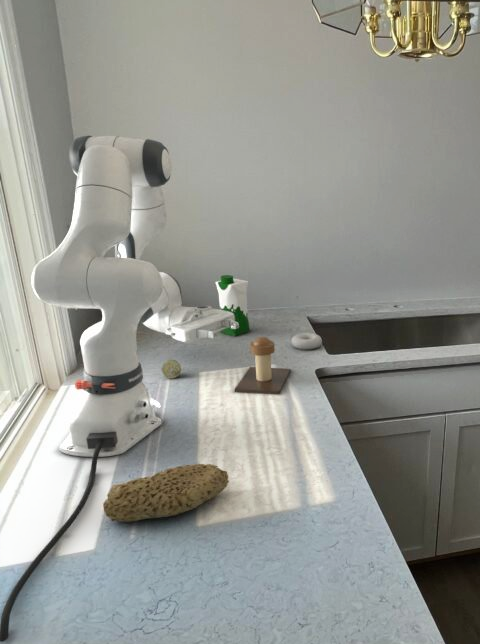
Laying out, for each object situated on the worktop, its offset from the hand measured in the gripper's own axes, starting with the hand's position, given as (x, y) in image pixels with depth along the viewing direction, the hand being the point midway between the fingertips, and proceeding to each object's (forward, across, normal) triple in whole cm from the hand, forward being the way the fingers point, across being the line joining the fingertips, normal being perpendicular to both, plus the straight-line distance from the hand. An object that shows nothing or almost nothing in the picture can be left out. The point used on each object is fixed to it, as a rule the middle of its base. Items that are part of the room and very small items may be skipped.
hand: (226, 330), depth 156 cm
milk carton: (-22, +30, +13) cm, 40 cm away
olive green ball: (-12, -10, +13) cm, 20 cm away
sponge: (+32, -54, +14) cm, 64 cm away
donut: (+7, +31, +13) cm, 34 cm away
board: (+12, 0, +13) cm, 18 cm away
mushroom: (+12, 0, +12) cm, 17 cm away
